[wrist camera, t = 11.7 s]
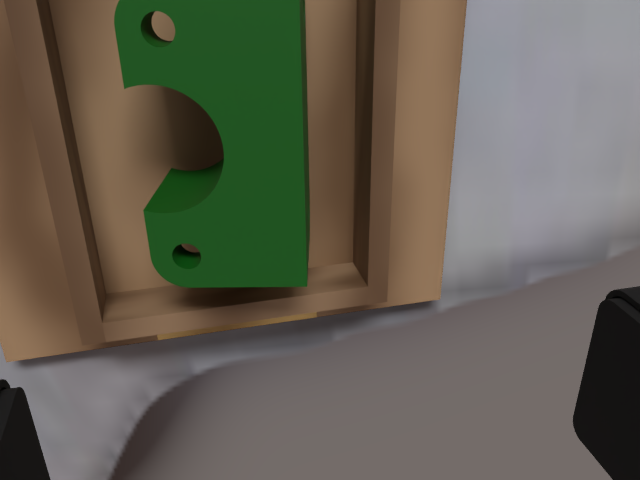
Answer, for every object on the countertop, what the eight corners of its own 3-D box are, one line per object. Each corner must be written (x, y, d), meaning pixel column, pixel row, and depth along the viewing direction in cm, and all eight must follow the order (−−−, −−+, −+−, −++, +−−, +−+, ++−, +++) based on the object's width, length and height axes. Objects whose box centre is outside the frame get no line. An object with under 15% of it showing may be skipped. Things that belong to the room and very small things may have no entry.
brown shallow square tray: (469, -181, 25) (517, -200, 21) (431, 288, 34) (460, 324, 31) (-148, -200, 20) (-206, -226, 17) (11, 347, 30) (-6, 396, 27)
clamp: (177, 14, 28) (105, -77, 19) (307, 12, 28) (298, -80, 19) (183, 274, 29) (116, 306, 20) (310, 273, 29) (302, 305, 20)
